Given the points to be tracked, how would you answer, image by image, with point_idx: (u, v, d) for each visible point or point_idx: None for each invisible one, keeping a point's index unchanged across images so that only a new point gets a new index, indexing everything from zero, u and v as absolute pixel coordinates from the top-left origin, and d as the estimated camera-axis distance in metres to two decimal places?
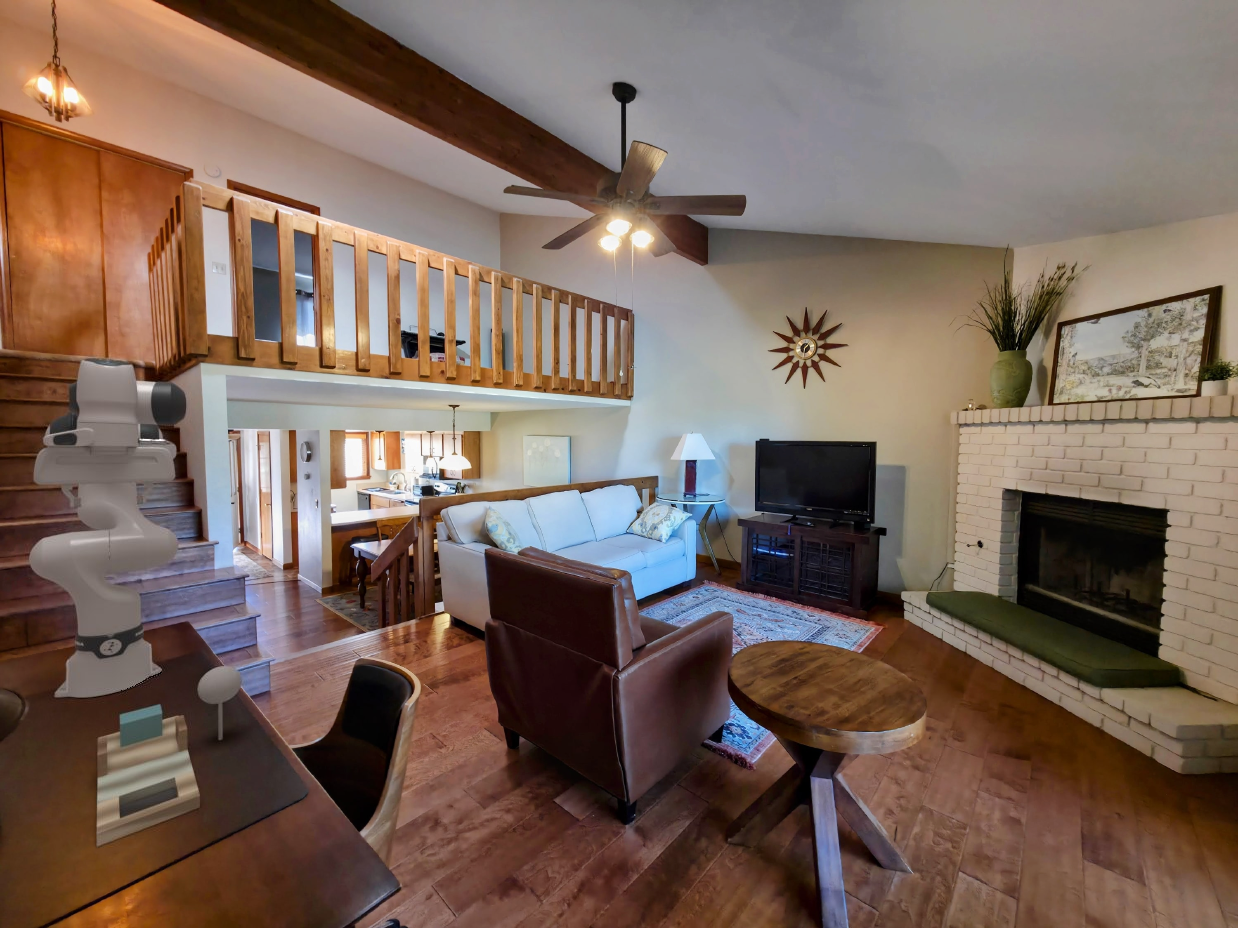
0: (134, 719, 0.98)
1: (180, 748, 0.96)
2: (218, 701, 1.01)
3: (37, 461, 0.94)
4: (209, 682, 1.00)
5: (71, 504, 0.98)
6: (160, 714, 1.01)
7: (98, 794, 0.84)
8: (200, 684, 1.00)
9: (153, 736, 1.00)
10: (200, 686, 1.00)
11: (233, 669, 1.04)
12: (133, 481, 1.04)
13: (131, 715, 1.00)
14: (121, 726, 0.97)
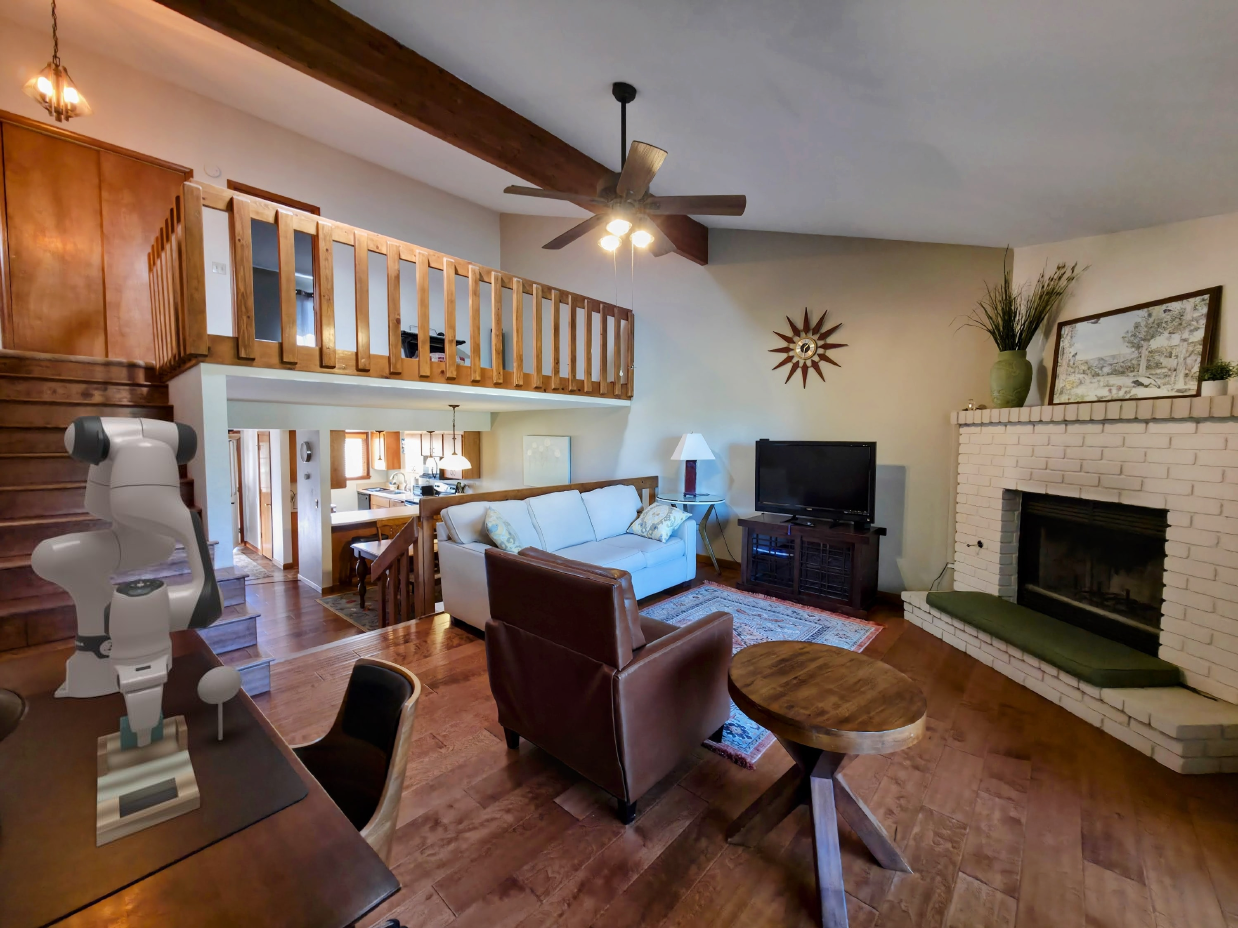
0: None
1: (180, 748, 0.96)
2: (218, 701, 1.01)
3: (161, 701, 0.93)
4: (209, 682, 1.00)
5: (150, 739, 0.95)
6: (161, 717, 1.00)
7: (98, 794, 0.84)
8: (200, 684, 1.00)
9: (154, 739, 0.99)
10: (200, 686, 1.00)
11: (233, 669, 1.04)
12: None
13: None
14: (121, 729, 0.96)
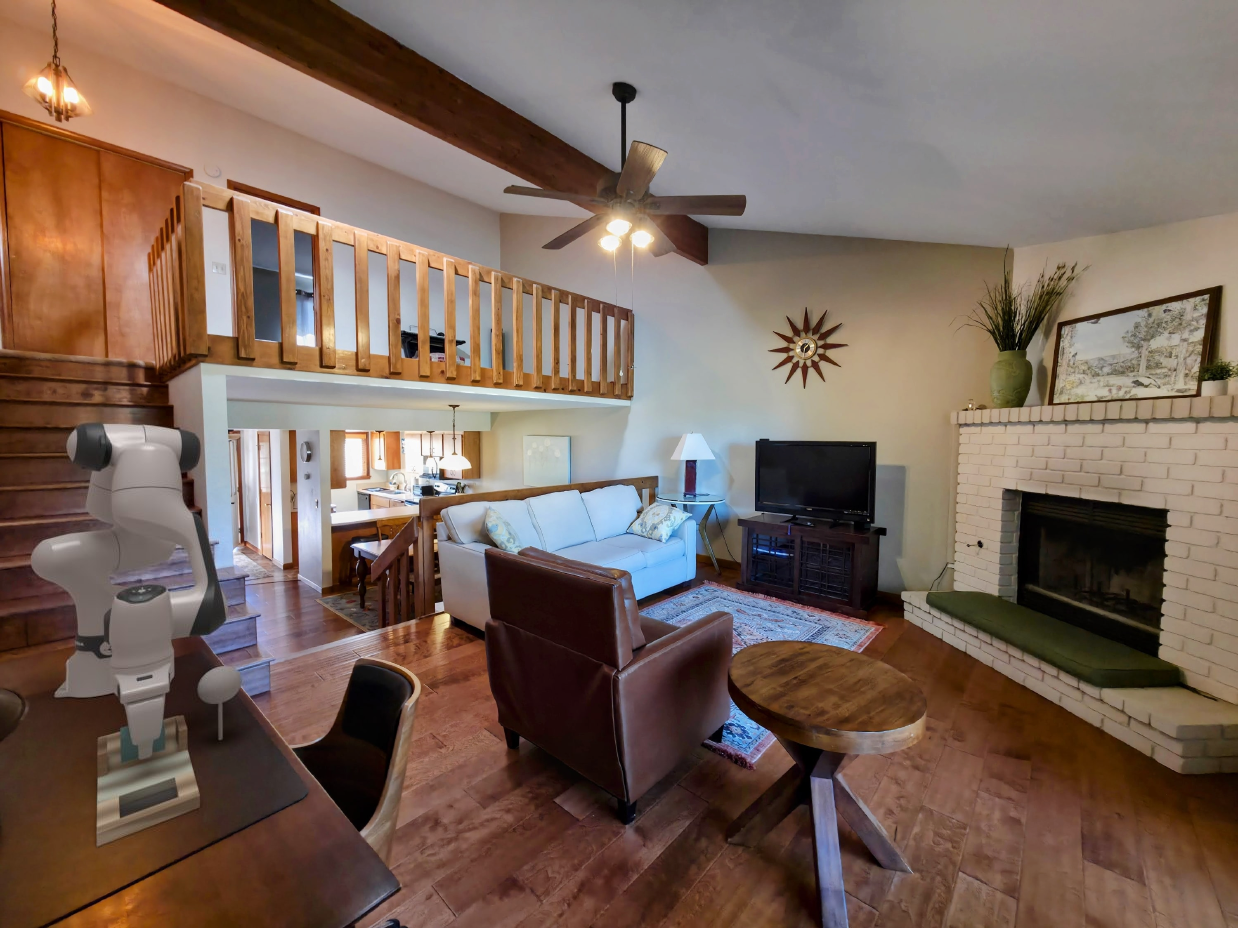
0: None
1: (180, 748, 0.96)
2: (218, 701, 1.01)
3: (163, 712, 0.90)
4: (209, 682, 1.00)
5: None
6: (163, 727, 0.96)
7: (98, 794, 0.84)
8: (200, 684, 1.00)
9: (155, 750, 0.95)
10: (200, 686, 1.00)
11: (233, 669, 1.04)
12: None
13: None
14: (122, 740, 0.92)
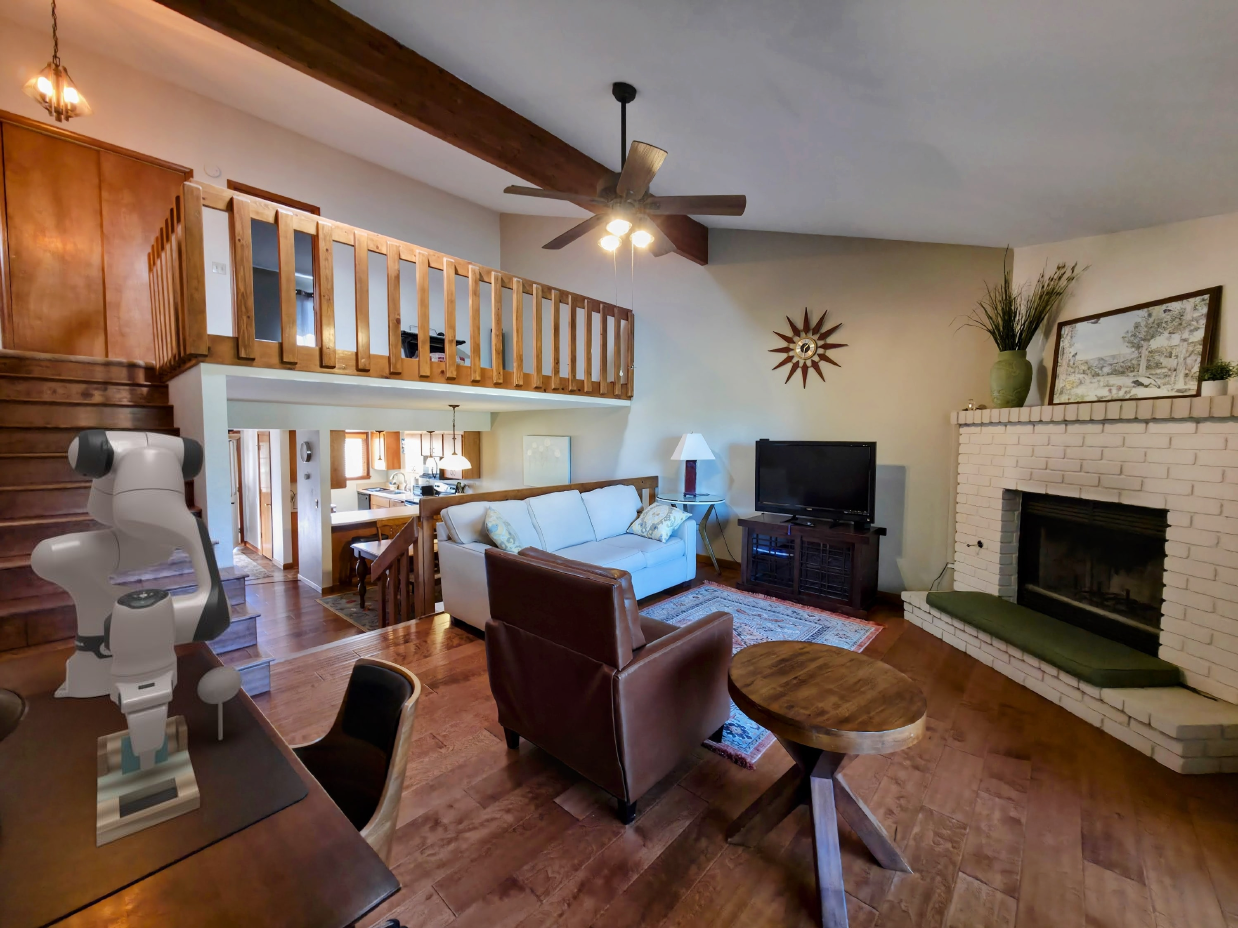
0: None
1: (180, 748, 0.96)
2: (218, 701, 1.01)
3: (165, 721, 0.86)
4: (209, 682, 1.00)
5: (154, 762, 0.89)
6: (165, 738, 0.93)
7: (98, 794, 0.84)
8: (200, 684, 1.00)
9: (158, 762, 0.92)
10: (200, 686, 1.00)
11: (233, 669, 1.04)
12: None
13: None
14: (123, 752, 0.89)
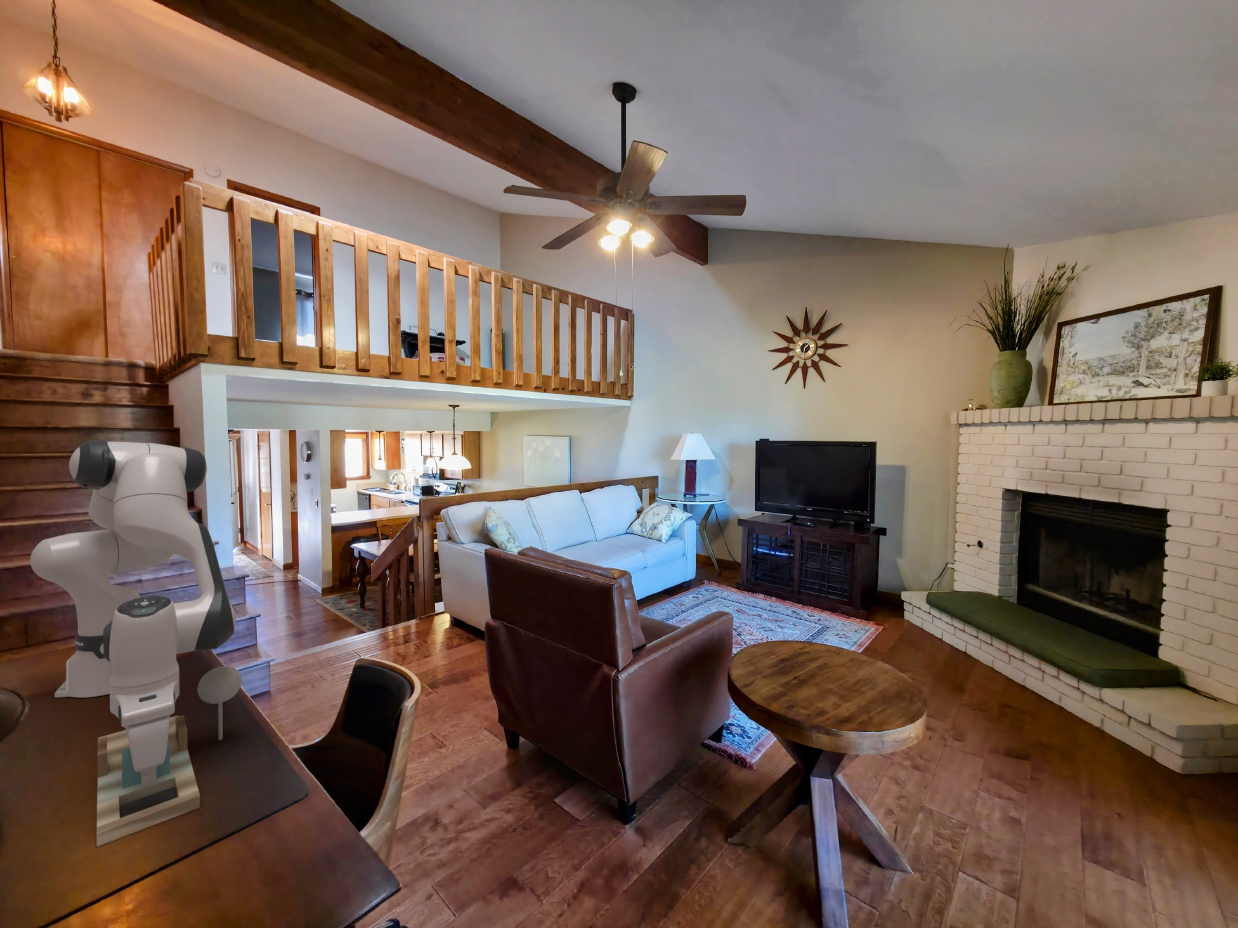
0: None
1: (180, 748, 0.96)
2: (218, 701, 1.01)
3: (167, 735, 0.83)
4: (209, 682, 1.00)
5: (155, 778, 0.85)
6: (167, 749, 0.89)
7: (98, 794, 0.84)
8: (200, 684, 1.00)
9: (159, 775, 0.89)
10: (200, 686, 1.00)
11: (233, 669, 1.04)
12: None
13: None
14: (123, 765, 0.85)
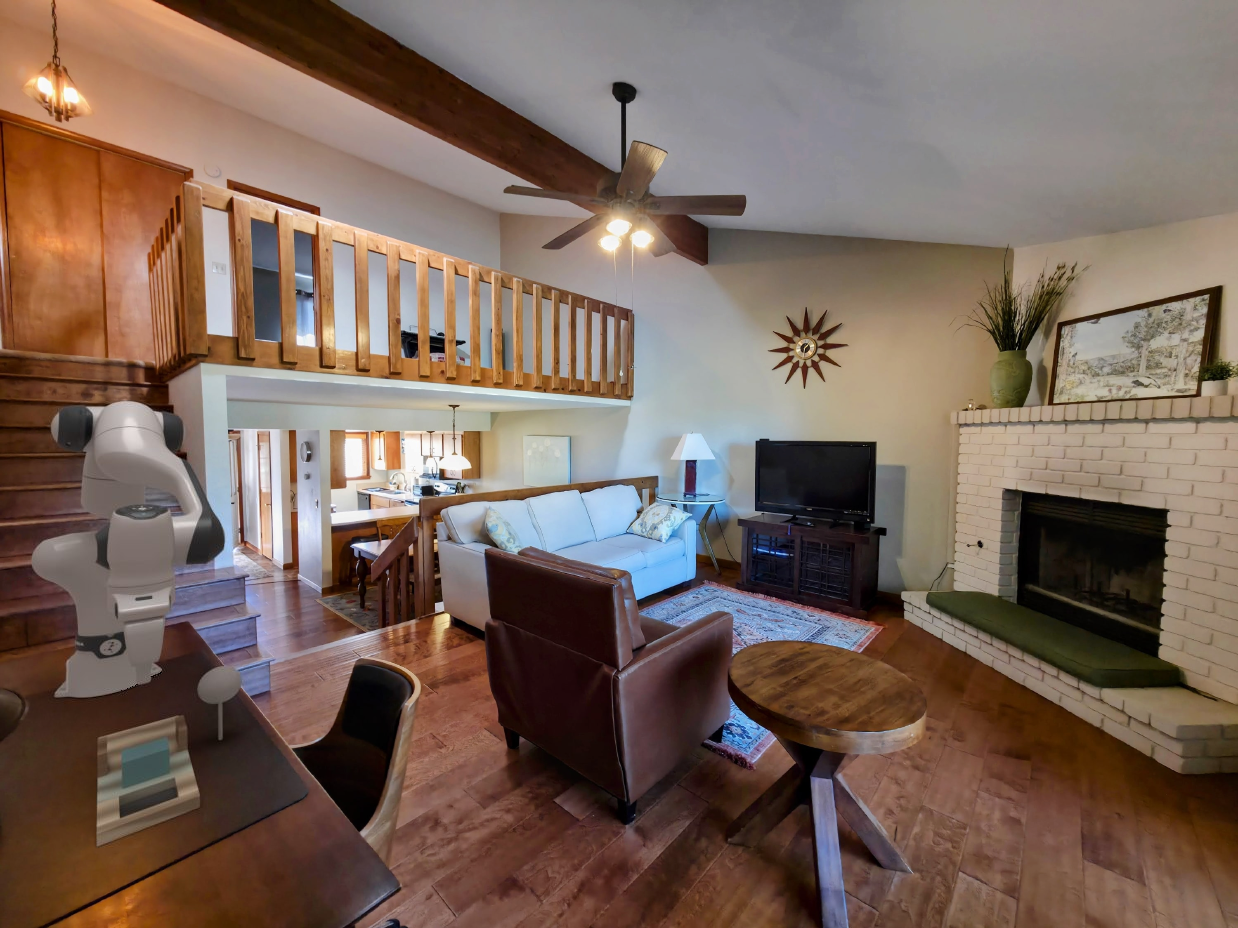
0: (137, 757, 0.87)
1: (180, 748, 0.96)
2: (218, 701, 1.01)
3: (162, 634, 0.85)
4: (209, 682, 1.00)
5: None
6: (167, 749, 0.89)
7: (98, 794, 0.84)
8: (200, 684, 1.00)
9: (159, 775, 0.89)
10: (200, 686, 1.00)
11: (233, 669, 1.04)
12: None
13: (134, 751, 0.88)
14: (123, 765, 0.85)
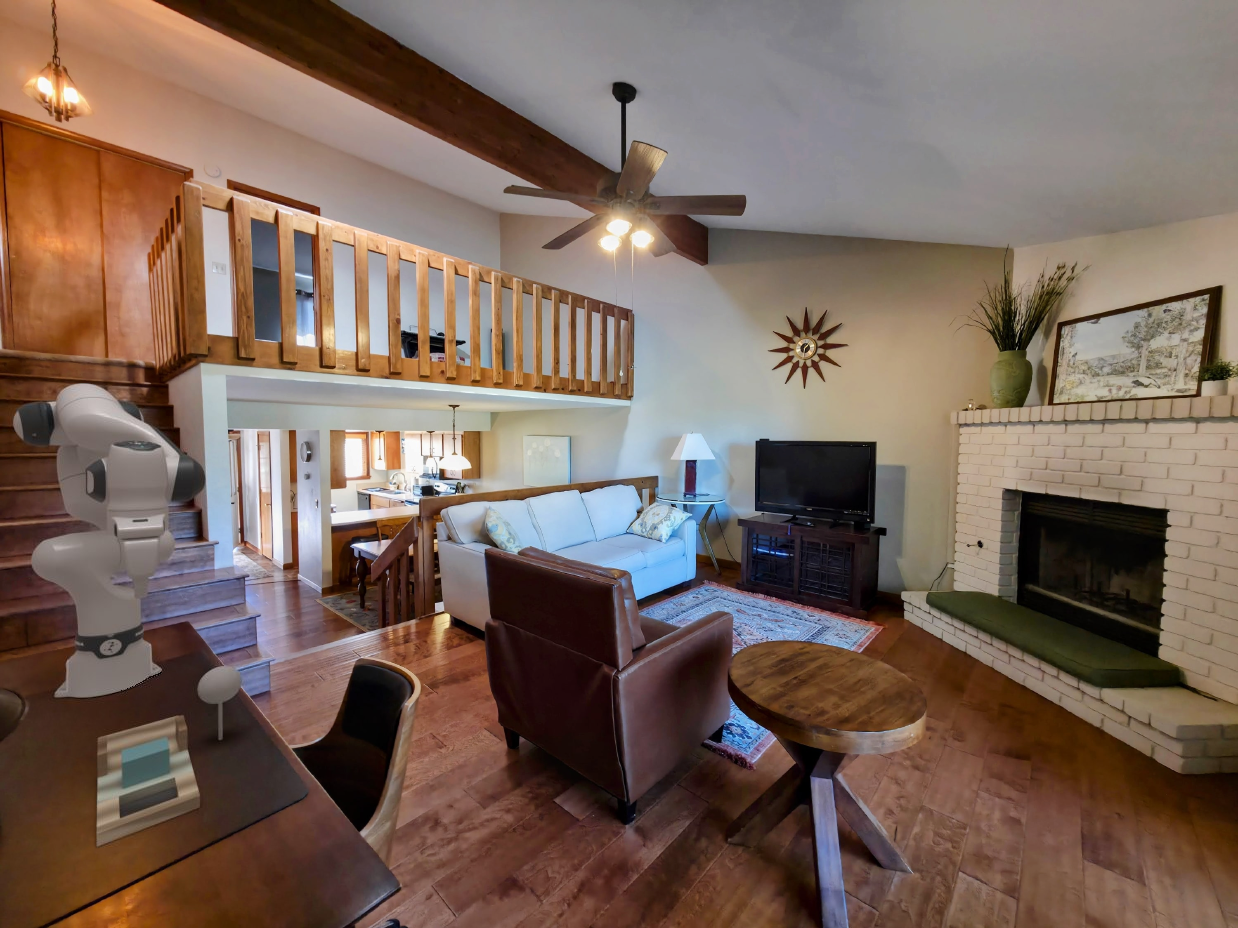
0: (137, 757, 0.87)
1: (180, 748, 0.96)
2: (218, 701, 1.01)
3: (157, 552, 0.94)
4: (209, 682, 1.00)
5: (147, 593, 0.97)
6: (167, 749, 0.89)
7: (98, 794, 0.84)
8: (200, 684, 1.00)
9: (159, 775, 0.89)
10: (200, 686, 1.00)
11: (233, 669, 1.04)
12: None
13: (134, 751, 0.88)
14: (123, 765, 0.85)
